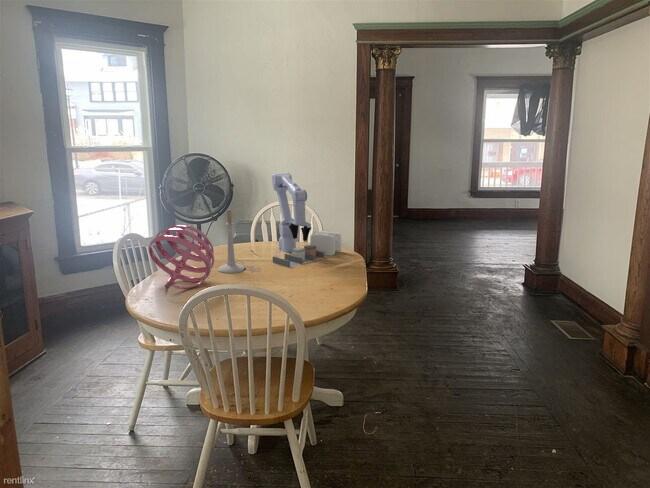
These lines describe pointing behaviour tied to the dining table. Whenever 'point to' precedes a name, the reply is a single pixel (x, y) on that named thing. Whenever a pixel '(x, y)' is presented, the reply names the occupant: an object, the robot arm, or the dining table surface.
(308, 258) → the grey tiered rack
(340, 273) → the dining table surface
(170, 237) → the spiral basket
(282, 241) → the robot arm
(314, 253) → the brown and grey box
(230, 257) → the candlestick
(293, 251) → the grey rectangular block
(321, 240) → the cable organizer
